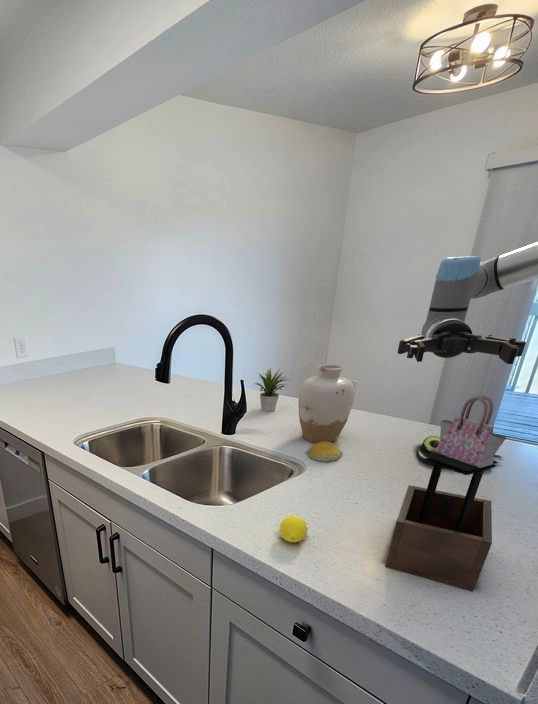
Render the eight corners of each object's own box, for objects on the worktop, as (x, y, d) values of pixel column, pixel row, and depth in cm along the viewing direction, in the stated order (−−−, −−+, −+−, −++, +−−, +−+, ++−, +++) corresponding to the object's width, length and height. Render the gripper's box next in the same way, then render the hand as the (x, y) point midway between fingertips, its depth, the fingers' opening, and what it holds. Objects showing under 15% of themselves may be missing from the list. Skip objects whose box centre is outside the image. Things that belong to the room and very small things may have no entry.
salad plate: (493, 451, 124) (498, 436, 122) (508, 477, 110) (514, 460, 108) (414, 444, 132) (418, 429, 130) (418, 466, 118) (422, 451, 116)
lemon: (279, 529, 94) (282, 507, 92) (306, 533, 92) (309, 511, 90) (276, 547, 89) (279, 524, 86) (304, 551, 87) (308, 528, 84)
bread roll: (305, 459, 126) (306, 446, 125) (313, 449, 133) (315, 437, 131) (335, 464, 122) (337, 451, 120) (342, 454, 128) (344, 441, 127)
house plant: (275, 418, 161) (280, 374, 153) (242, 412, 169) (245, 370, 162) (292, 409, 170) (297, 366, 162) (260, 404, 178) (263, 363, 171)
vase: (284, 439, 142) (292, 368, 131) (308, 426, 151) (318, 359, 141) (332, 450, 131) (344, 374, 121) (355, 436, 140) (368, 364, 130)
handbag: (393, 542, 86) (432, 392, 72) (421, 533, 88) (464, 386, 75) (444, 572, 77) (500, 408, 64) (473, 561, 79) (533, 400, 66)
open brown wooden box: (475, 545, 85) (491, 500, 81) (473, 591, 74) (492, 543, 69) (397, 526, 93) (408, 485, 88) (384, 566, 81) (396, 521, 76)
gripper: (513, 356, 92) (546, 379, 75) (380, 353, 102) (382, 373, 85) (526, 318, 88) (563, 333, 71) (387, 319, 98) (390, 333, 82)
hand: (465, 355), depth 78 cm, fingers open, 13 cm apart
